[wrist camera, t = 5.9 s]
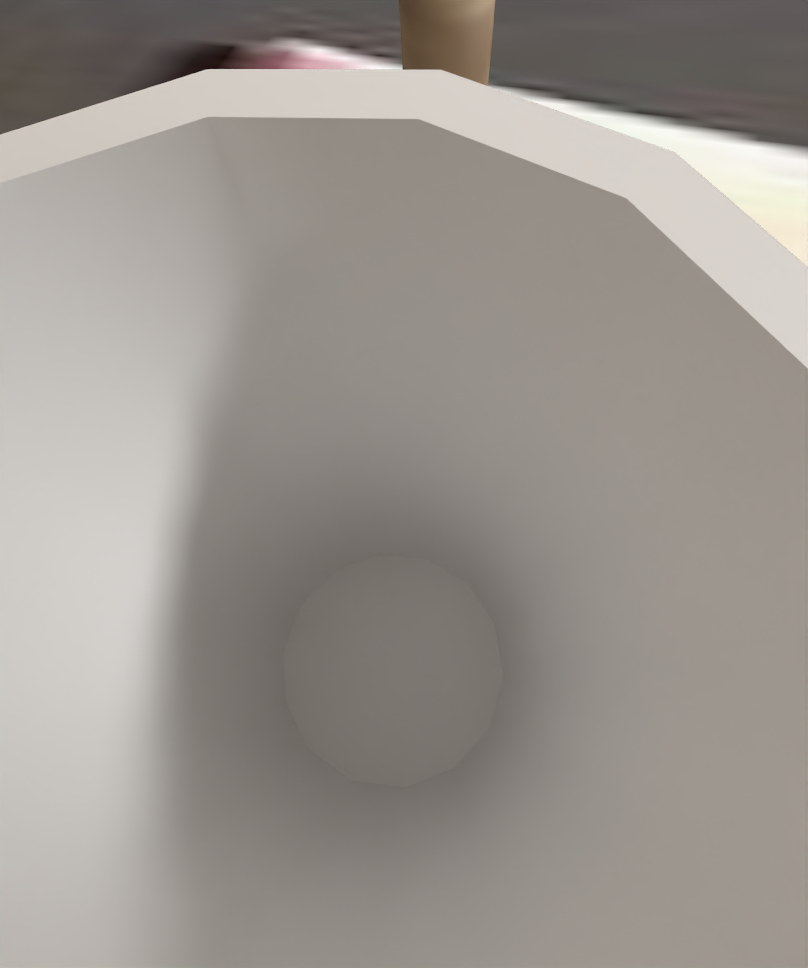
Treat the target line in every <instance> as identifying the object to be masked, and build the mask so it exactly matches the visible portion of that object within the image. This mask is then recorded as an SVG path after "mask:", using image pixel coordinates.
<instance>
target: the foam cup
mask: <svg viewBox="0 0 808 968" xmlns="http://www.w3.org/2000/svg"><path fill="white" fill-rule="evenodd" d="M0 968H808V267H807V266H806V265H805V264H804V263H803V262H801V261H800V260H799V259H798V258H797V257H796V256H795V255H793V254H792V253H791V252H790V251H789V250H788V249H786V248H785V247H784V246H783V245H782V244H781V243H779V242H778V241H777V240H776V239H775V238H774V237H773V236H771V235H770V234H769V233H768V232H767V231H766V230H764V229H763V228H762V227H761V226H760V225H759V224H757V223H756V222H755V221H754V220H753V219H752V218H751V217H749V216H748V215H747V214H746V213H745V212H744V211H742V210H741V209H740V208H739V207H738V206H737V205H735V204H734V203H733V202H732V201H731V200H730V199H729V198H727V197H726V196H725V195H724V194H723V193H722V192H720V191H719V190H718V189H717V188H716V187H715V186H713V185H712V184H711V183H710V182H709V181H708V180H707V179H705V178H704V177H703V176H702V175H701V174H700V173H698V172H697V171H696V170H695V169H694V168H693V167H691V166H690V165H689V164H688V163H687V162H686V161H685V160H683V159H682V158H681V157H680V156H679V155H678V154H676V153H675V152H673V151H670V150H667V149H664V148H661V147H659V146H656V145H653V144H650V143H647V142H644V141H642V140H639V139H636V138H633V137H630V136H627V135H625V134H622V133H619V132H616V131H613V130H610V129H608V128H605V127H602V126H599V125H596V124H593V123H591V122H588V121H585V120H582V119H579V118H576V117H574V116H571V115H568V114H565V113H562V112H560V111H557V110H554V109H551V108H548V107H545V106H543V105H540V104H537V103H534V102H531V101H528V100H526V99H523V98H520V97H517V96H514V95H511V94H509V93H506V92H503V91H500V90H497V89H494V88H492V87H489V86H486V85H483V84H480V83H477V82H475V81H472V80H469V79H466V78H463V77H460V76H458V75H455V74H452V73H449V72H446V71H443V70H369V69H207V70H204V71H201V72H198V73H194V74H191V75H188V76H185V77H182V78H179V79H175V80H172V81H169V82H166V83H163V84H160V85H156V86H153V87H150V88H147V89H144V90H141V91H137V92H134V93H131V94H128V95H125V96H121V97H118V98H115V99H112V100H109V101H106V102H102V103H99V104H96V105H93V106H90V107H87V108H83V109H80V110H77V111H74V112H71V113H68V114H64V115H61V116H58V117H55V118H52V119H49V120H45V121H42V122H39V123H36V124H33V125H30V126H26V127H23V128H20V129H17V130H14V131H11V132H7V133H4V134H1V135H0Z"/></svg>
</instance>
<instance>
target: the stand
mask: <svg viewBox="0 0 808 968" xmlns="http://www.w3.org/2000/svg"><path fill="white" fill-rule="evenodd" d="M399 7H400V26H401V45H402V64H403V70H443V71H446V72H449V73H452V74H455V75H458V76H460V77H463V78H466V79H469V80H472V81H475V82H477V83H480V84H483V85H486V86H488V77H489V66H490V54H491V43H492V32H493V20H494V9H495V0H399Z"/></svg>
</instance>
